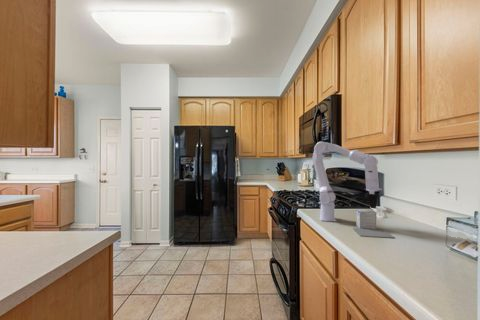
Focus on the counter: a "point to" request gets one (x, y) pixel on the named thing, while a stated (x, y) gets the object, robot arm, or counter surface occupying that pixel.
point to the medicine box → (366, 219)
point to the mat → (373, 233)
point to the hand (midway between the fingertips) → (373, 206)
